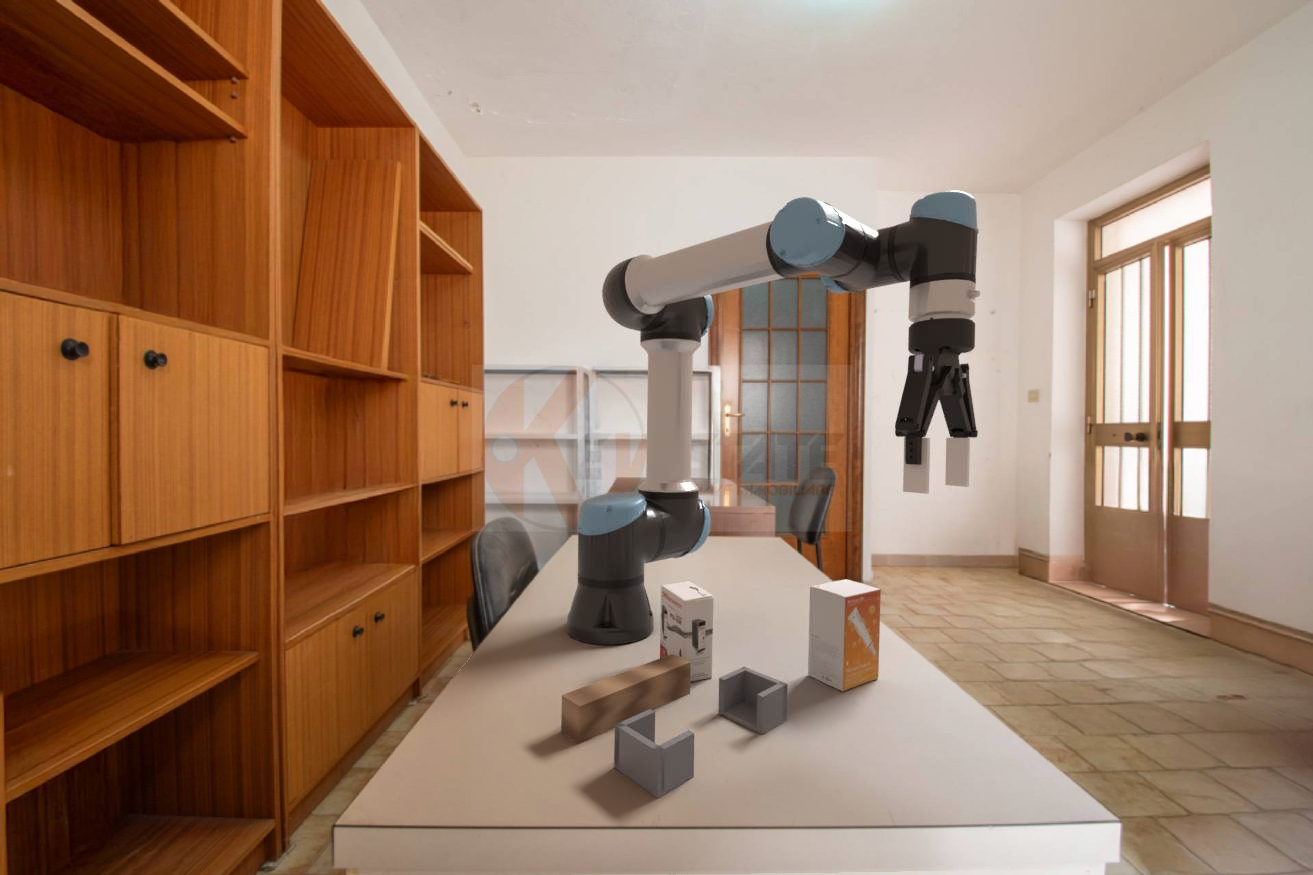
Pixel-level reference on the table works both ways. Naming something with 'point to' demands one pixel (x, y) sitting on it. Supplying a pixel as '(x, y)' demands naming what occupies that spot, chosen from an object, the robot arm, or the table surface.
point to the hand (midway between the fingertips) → (937, 489)
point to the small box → (844, 633)
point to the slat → (623, 697)
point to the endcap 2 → (753, 699)
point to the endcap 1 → (652, 755)
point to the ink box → (687, 626)
